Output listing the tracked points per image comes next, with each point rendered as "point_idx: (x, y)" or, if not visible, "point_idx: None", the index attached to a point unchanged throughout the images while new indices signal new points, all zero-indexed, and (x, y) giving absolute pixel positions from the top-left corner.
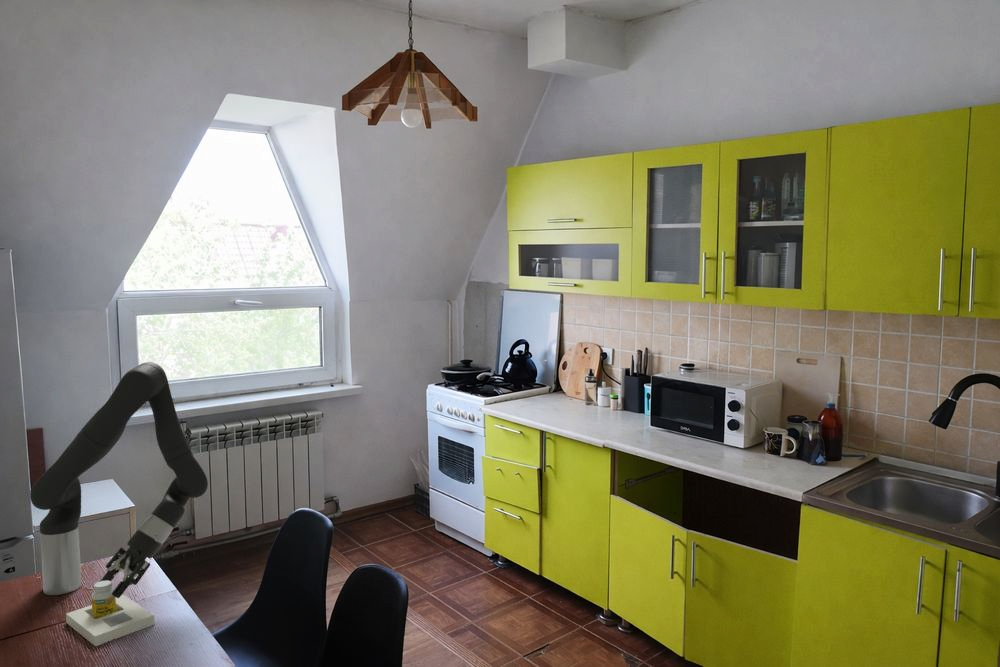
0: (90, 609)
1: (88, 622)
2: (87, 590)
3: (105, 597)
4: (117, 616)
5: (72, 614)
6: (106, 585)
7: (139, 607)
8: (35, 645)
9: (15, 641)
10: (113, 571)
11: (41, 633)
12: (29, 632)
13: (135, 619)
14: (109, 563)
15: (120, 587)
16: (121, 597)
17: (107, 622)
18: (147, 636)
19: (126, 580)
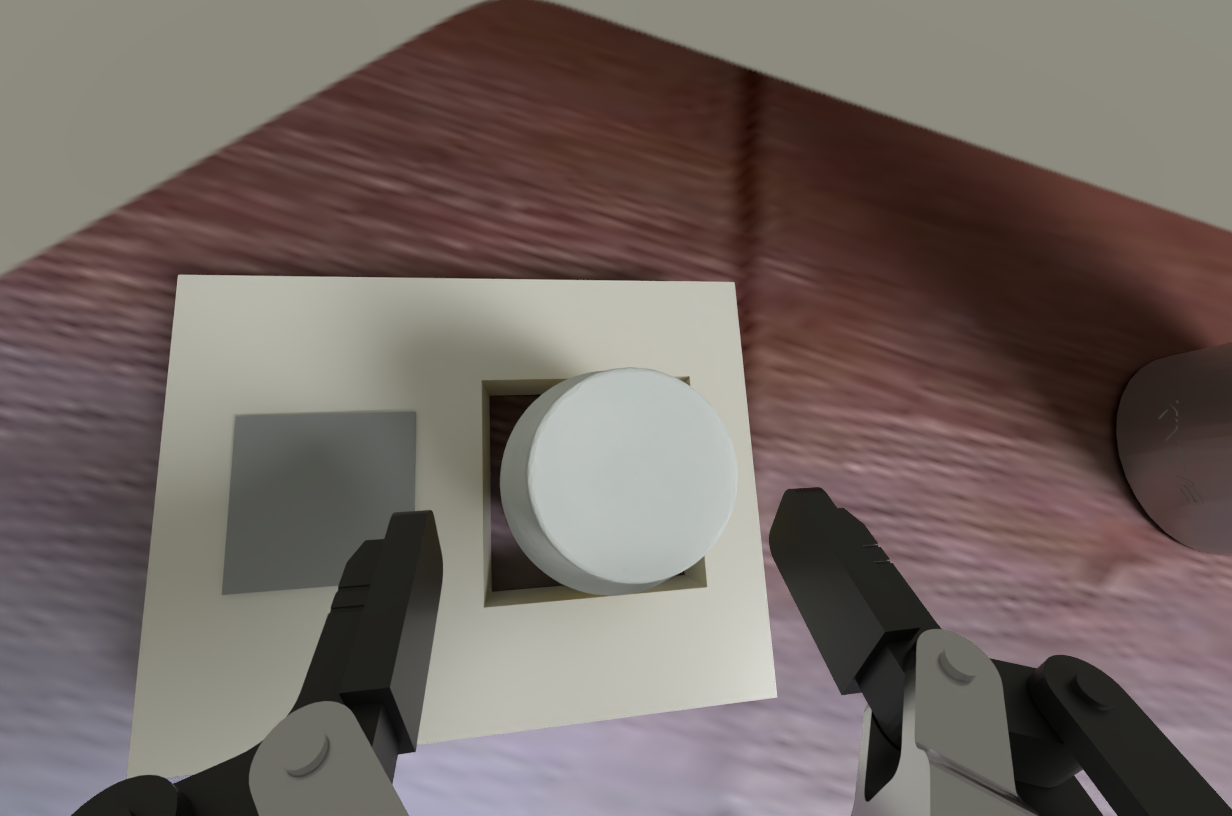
0: None
1: (465, 328)
2: (1094, 552)
3: (504, 462)
4: (371, 513)
5: (689, 304)
6: (534, 485)
7: None
8: (549, 108)
9: (678, 70)
10: (900, 715)
11: (677, 177)
12: (735, 145)
13: (192, 611)
14: (1119, 741)
15: (341, 624)
16: (731, 666)
17: (326, 417)
18: (32, 617)
19: (262, 768)
